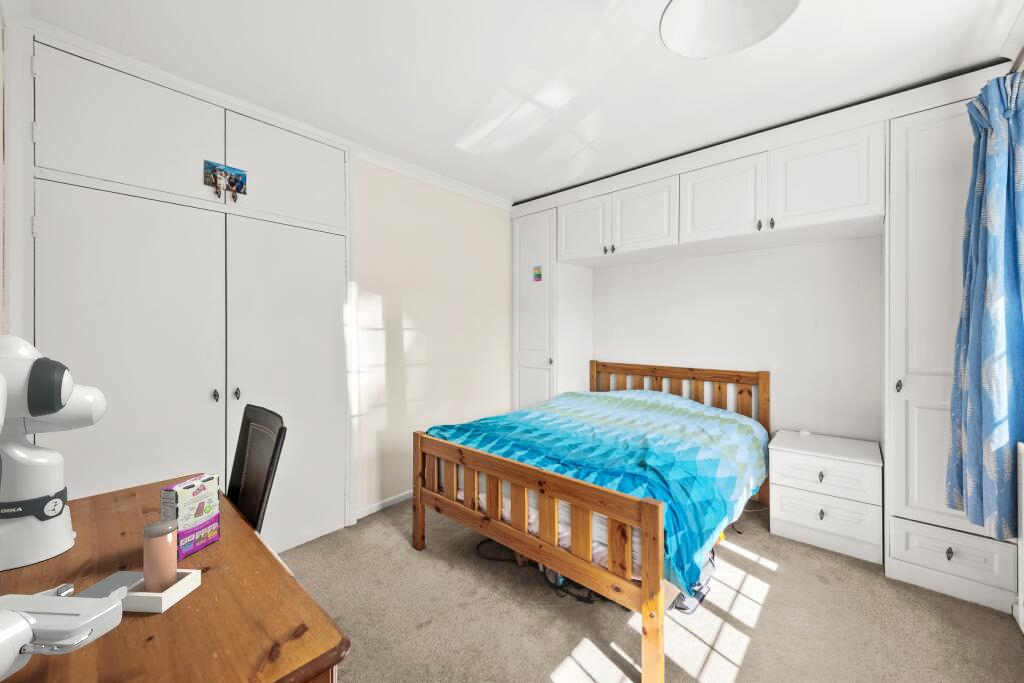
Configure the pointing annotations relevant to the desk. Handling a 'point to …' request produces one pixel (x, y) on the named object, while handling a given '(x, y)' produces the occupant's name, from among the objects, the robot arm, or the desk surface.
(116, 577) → the mat
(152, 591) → the canister
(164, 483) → the desk surface
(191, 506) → the candy bar box
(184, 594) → the frame
